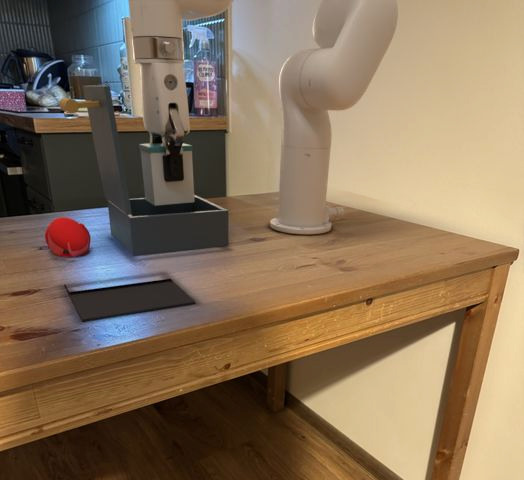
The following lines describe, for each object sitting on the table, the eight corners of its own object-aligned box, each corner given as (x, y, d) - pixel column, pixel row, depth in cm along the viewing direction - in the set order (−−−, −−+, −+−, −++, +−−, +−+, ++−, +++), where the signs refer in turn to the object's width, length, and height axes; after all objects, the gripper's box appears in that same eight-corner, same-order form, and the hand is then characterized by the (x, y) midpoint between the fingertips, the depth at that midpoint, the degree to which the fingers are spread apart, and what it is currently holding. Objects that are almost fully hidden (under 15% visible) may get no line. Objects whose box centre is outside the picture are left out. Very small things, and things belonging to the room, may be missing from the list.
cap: (101, 257, 80) (96, 220, 77) (65, 265, 76) (59, 225, 73) (76, 247, 85) (71, 211, 82) (42, 253, 81) (35, 216, 78)
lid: (87, 85, 79) (51, 87, 77) (109, 85, 67) (67, 88, 65) (109, 197, 88) (76, 201, 86) (132, 214, 76) (95, 220, 74)
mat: (163, 273, 74) (163, 271, 74) (195, 303, 64) (195, 301, 64) (64, 286, 68) (64, 284, 68) (82, 321, 58) (82, 319, 58)
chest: (196, 230, 98) (195, 194, 95) (228, 250, 86) (228, 210, 83) (111, 238, 91) (107, 200, 88) (133, 260, 79) (129, 217, 76)
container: (183, 196, 89) (180, 142, 85) (195, 202, 85) (192, 145, 81) (144, 199, 86) (139, 143, 82) (154, 206, 82) (149, 147, 78)
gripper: (203, 51, 70) (208, 184, 79) (164, 56, 84) (172, 170, 92) (151, 49, 67) (162, 188, 76) (119, 55, 80) (132, 172, 89)
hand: (168, 177), depth 84 cm, fingers closed on container, 5 cm apart
